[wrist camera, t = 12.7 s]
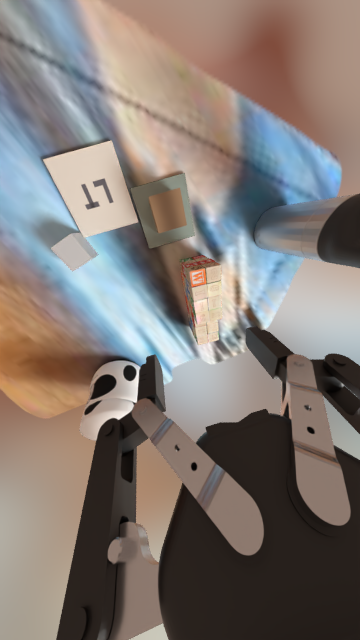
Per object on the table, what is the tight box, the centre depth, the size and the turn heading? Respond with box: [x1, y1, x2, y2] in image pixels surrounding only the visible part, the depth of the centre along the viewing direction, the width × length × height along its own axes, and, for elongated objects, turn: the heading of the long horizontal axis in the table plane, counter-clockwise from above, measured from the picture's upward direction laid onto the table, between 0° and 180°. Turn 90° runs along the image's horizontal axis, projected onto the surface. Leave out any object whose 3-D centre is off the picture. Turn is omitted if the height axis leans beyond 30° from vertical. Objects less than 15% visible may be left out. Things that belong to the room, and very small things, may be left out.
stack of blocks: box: [180, 255, 222, 345], centre depth 39 cm, size 21×6×12 cm, turn 9°
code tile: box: [43, 140, 138, 238], centre depth 29 cm, size 12×12×1 cm
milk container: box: [79, 360, 141, 441], centre depth 48 cm, size 17×17×18 cm
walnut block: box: [149, 188, 187, 233], centre depth 30 cm, size 6×6×6 cm
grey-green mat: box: [130, 173, 195, 249], centre depth 33 cm, size 11×11×1 cm
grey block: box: [50, 233, 99, 272], centre depth 32 cm, size 5×5×5 cm
